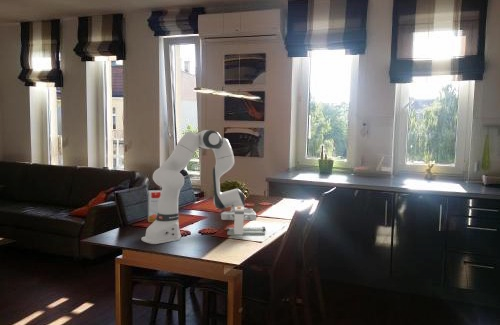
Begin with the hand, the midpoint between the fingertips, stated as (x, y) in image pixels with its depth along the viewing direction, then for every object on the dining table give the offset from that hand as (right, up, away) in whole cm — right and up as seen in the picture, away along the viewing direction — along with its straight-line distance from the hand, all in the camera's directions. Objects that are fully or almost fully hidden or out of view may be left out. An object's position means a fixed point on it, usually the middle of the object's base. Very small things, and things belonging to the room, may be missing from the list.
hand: (239, 219), depth 243 cm
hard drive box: (-53, -7, +42) cm, 68 cm away
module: (0, -8, +2) cm, 8 cm away
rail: (+4, -9, +15) cm, 18 cm away
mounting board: (+4, -10, +15) cm, 19 cm away
